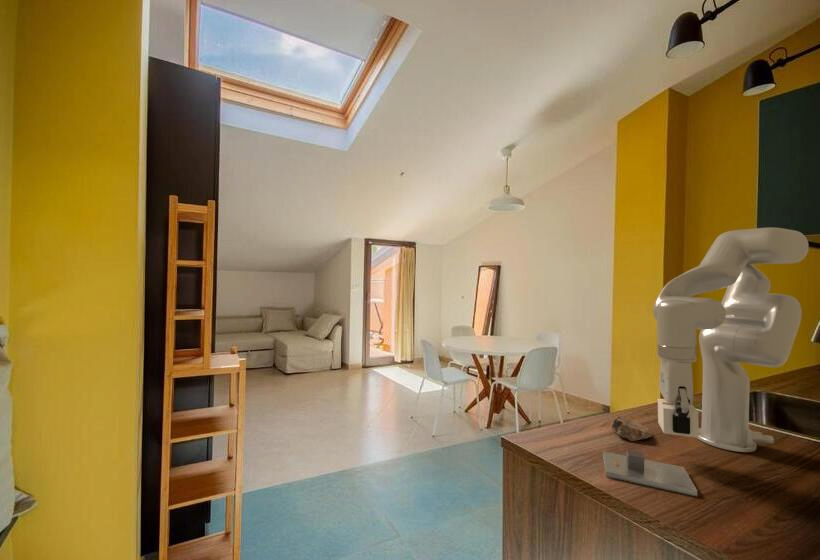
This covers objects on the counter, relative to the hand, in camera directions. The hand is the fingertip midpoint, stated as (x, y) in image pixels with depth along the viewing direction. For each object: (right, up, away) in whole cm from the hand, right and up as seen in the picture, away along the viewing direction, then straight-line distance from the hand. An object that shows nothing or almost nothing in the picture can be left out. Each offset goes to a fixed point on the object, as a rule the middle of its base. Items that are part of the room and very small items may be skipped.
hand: (677, 425), depth 87 cm
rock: (-3, -9, +14) cm, 16 cm away
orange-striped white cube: (0, -1, 0) cm, 1 cm away
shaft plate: (-12, -8, -7) cm, 16 cm away
